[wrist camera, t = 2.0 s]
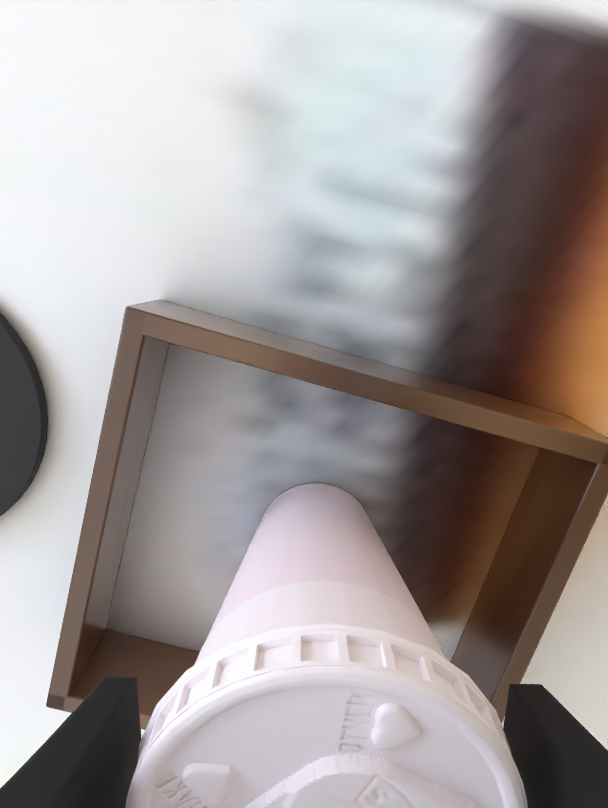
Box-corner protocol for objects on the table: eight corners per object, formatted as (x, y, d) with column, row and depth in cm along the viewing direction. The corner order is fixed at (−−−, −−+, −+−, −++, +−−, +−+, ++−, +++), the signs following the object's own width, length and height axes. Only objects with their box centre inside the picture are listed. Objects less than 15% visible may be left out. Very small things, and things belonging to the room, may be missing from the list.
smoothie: (428, 597, 18) (795, 1584, 5) (247, 635, 18) (87, 1648, 5) (390, 422, 17) (773, 1121, 3) (194, 468, 17) (-253, 1269, 3)
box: (572, 417, 16) (629, 449, 14) (440, 724, 19) (464, 805, 16) (158, 299, 16) (125, 305, 13) (85, 639, 19) (44, 707, 16)
